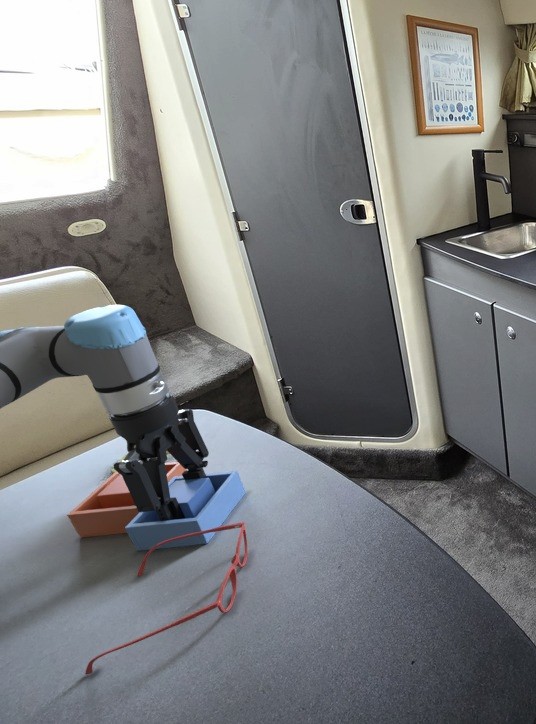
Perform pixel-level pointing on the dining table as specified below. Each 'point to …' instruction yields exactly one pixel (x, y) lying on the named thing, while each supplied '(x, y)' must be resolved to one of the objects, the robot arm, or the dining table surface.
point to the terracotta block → (116, 495)
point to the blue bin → (152, 531)
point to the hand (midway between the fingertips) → (192, 514)
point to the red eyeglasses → (218, 603)
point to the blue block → (192, 495)
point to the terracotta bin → (109, 510)
